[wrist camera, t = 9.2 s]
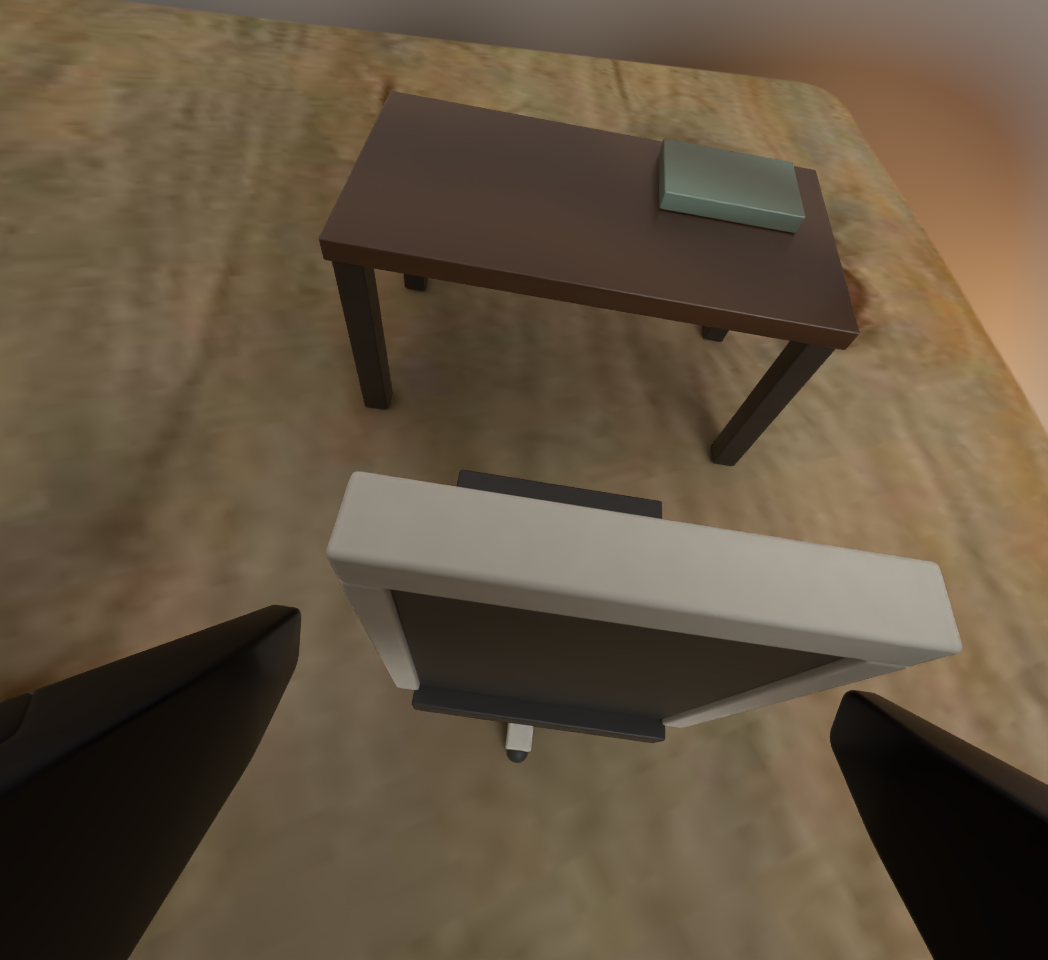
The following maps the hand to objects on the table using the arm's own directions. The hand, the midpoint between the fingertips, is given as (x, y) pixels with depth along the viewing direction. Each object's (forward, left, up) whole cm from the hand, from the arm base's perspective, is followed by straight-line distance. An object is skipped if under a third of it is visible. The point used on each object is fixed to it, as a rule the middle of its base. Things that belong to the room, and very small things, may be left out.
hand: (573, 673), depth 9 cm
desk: (+10, -10, -8) cm, 17 cm away
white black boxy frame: (+2, -2, -8) cm, 9 cm away
